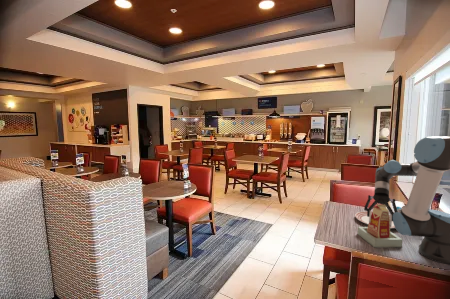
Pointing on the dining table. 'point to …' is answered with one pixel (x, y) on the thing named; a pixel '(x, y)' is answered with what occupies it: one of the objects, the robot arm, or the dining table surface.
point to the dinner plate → (367, 218)
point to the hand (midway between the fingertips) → (379, 223)
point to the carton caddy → (380, 239)
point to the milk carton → (379, 222)
